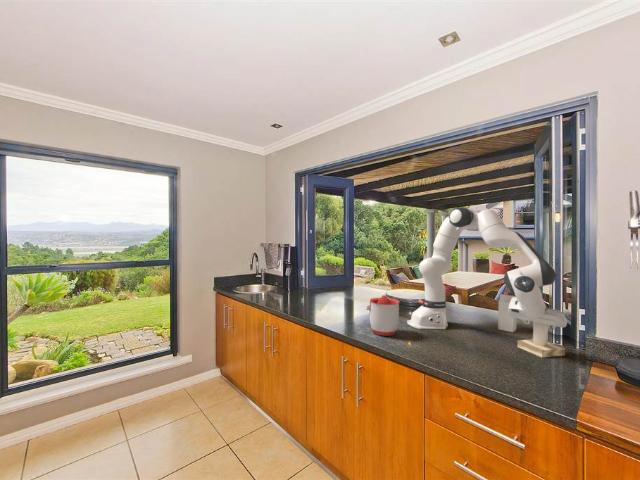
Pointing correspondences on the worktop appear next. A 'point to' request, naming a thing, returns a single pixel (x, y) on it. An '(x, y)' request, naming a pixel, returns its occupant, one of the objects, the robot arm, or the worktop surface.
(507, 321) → the milk carton
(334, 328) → the worktop surface
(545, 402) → the worktop surface
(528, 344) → the base slab
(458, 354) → the worktop surface
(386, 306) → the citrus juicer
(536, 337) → the canister
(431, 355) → the worktop surface
